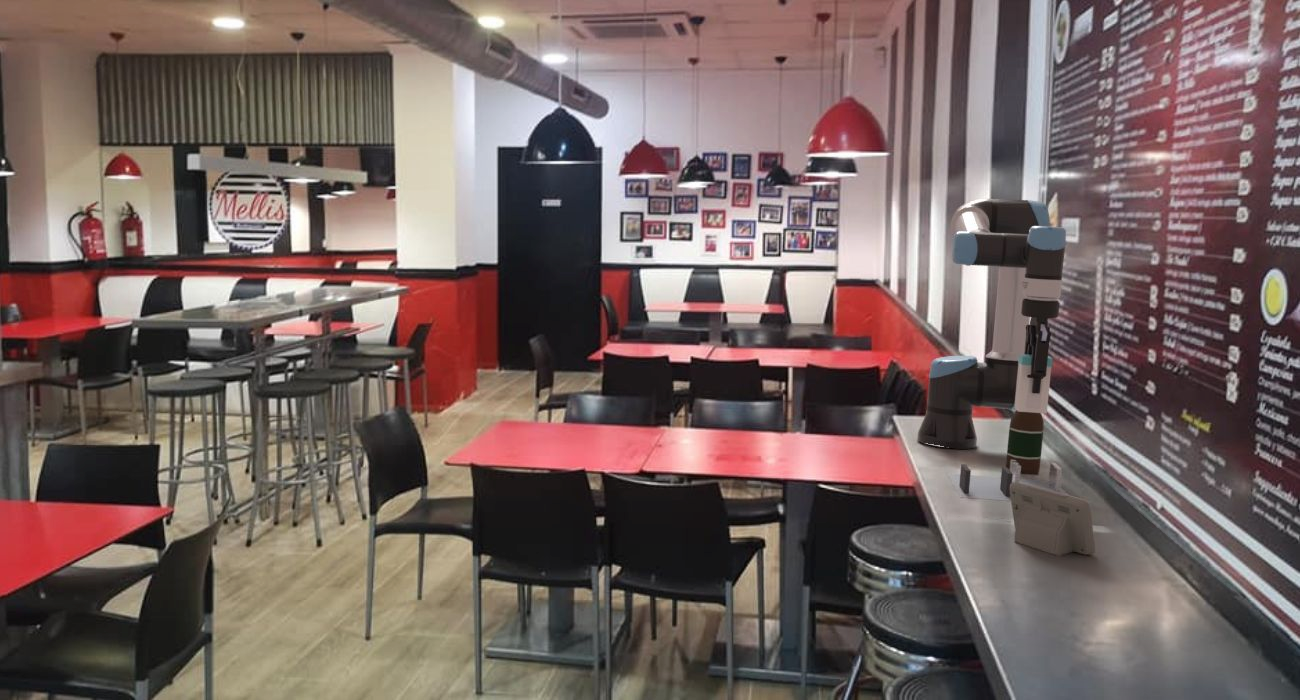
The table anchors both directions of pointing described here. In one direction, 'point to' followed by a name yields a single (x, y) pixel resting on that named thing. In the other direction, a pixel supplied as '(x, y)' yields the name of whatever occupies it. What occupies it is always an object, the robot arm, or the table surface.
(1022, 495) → the digital clock
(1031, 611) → the table surface
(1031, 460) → the beer bottle
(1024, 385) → the white and teal box
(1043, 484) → the panel
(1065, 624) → the table surface
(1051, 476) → the port
